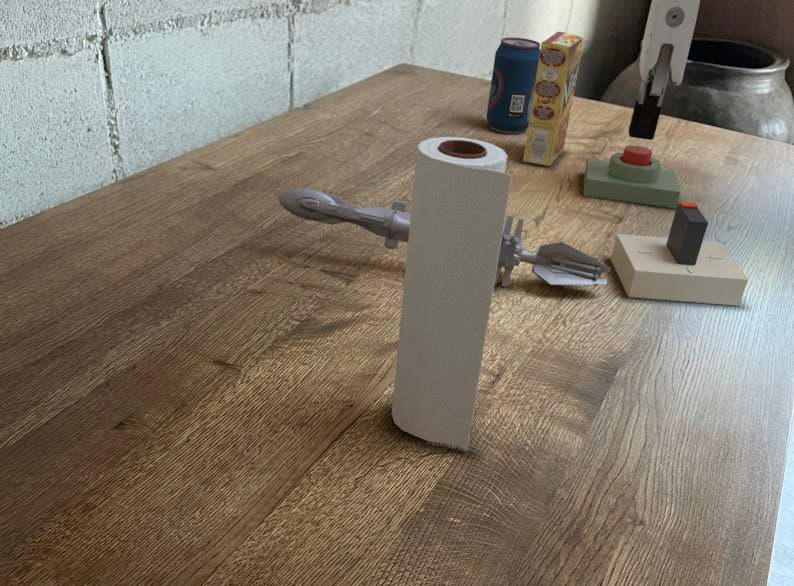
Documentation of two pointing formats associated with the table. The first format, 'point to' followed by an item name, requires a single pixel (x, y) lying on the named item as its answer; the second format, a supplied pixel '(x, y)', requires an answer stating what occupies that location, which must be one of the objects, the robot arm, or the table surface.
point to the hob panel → (677, 272)
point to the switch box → (631, 182)
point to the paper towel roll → (448, 285)
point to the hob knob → (686, 233)
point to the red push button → (637, 155)
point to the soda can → (513, 85)
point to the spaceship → (549, 262)
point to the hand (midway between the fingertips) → (640, 136)
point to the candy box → (552, 97)
